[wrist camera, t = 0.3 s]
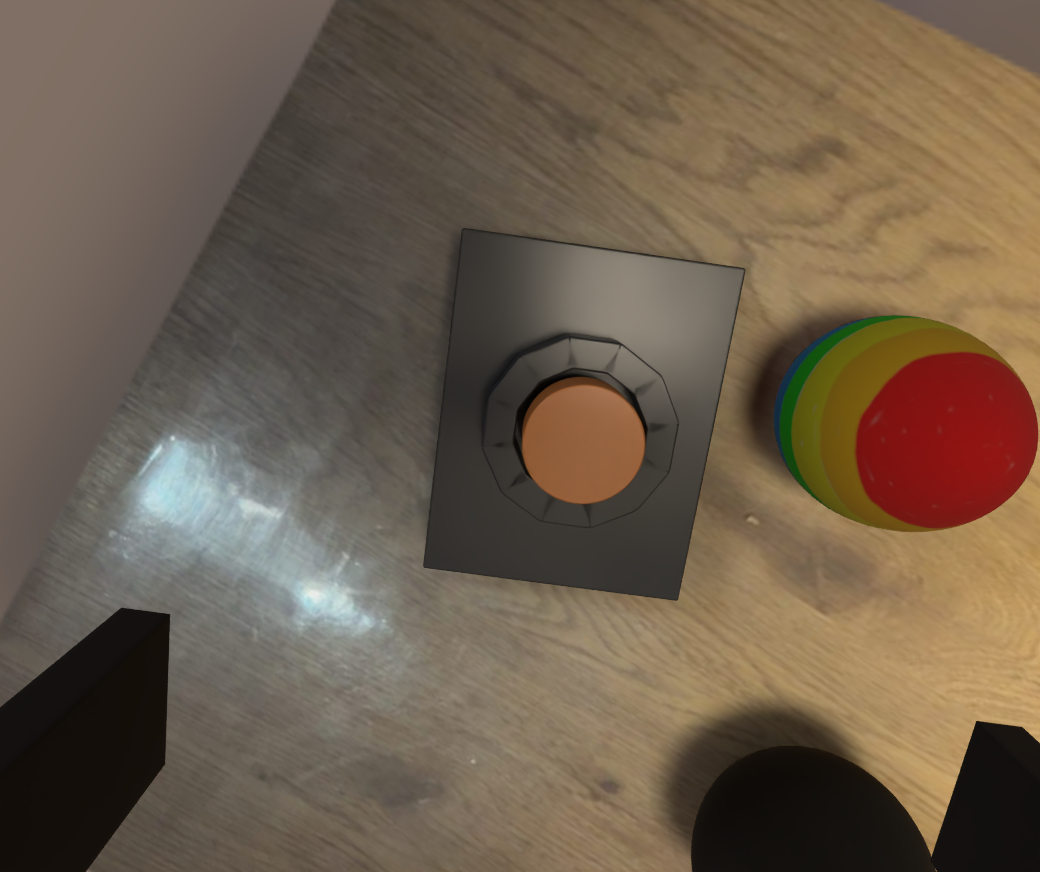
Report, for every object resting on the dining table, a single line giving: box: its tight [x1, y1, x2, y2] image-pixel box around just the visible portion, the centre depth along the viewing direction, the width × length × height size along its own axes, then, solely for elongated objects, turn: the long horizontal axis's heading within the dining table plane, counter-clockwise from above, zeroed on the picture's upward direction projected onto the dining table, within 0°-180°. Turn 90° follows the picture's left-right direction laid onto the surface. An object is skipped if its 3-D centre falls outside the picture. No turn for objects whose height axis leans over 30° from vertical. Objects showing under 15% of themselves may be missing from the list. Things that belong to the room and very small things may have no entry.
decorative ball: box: [691, 746, 936, 872], centre depth 31 cm, size 10×10×10 cm
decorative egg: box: [774, 315, 1038, 532], centre depth 26 cm, size 8×8×10 cm
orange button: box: [522, 377, 645, 504], centre depth 26 cm, size 4×4×2 cm
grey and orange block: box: [423, 228, 745, 601], centre depth 29 cm, size 14×11×5 cm
